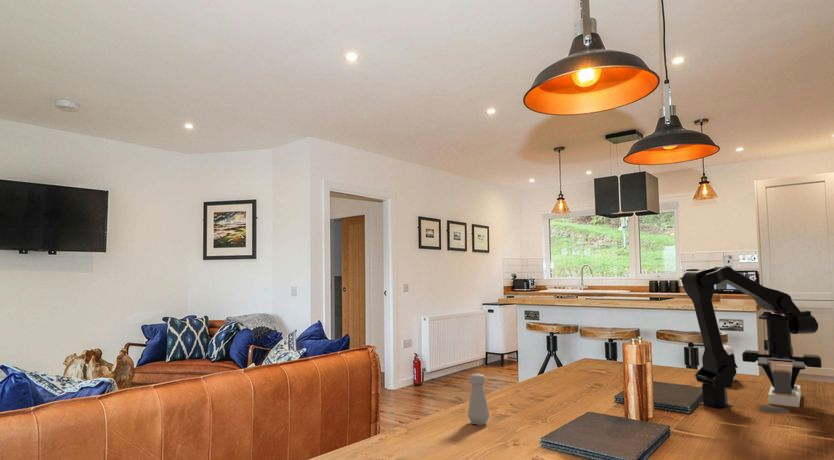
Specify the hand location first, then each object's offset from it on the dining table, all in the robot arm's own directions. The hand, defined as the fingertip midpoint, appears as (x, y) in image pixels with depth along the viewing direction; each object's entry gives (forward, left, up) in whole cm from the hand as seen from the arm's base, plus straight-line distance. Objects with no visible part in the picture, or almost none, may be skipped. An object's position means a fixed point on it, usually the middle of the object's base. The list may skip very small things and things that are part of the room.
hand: (783, 388), depth 146 cm
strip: (+11, +5, -4) cm, 13 cm away
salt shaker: (-88, +29, -4) cm, 93 cm away
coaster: (-11, -3, -4) cm, 12 cm away
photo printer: (+14, +26, -5) cm, 30 cm away
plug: (0, 0, -1) cm, 1 cm away
